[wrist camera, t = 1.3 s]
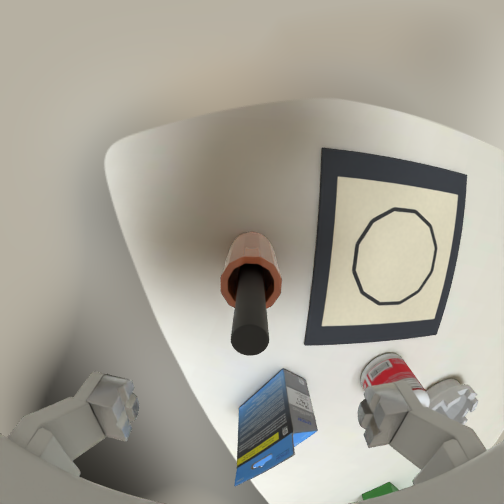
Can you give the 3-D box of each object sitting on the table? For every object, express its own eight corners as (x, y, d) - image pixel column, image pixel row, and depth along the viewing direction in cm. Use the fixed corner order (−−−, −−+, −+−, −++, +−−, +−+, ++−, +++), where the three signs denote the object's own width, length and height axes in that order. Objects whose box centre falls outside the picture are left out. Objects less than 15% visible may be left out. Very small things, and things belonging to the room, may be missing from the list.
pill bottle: (388, 388, 31) (419, 446, 20) (351, 387, 30) (378, 452, 20) (410, 352, 29) (451, 408, 19) (373, 349, 29) (411, 413, 18)
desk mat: (321, 148, 23) (323, 147, 23) (464, 174, 23) (467, 175, 23) (304, 343, 28) (304, 346, 28) (434, 333, 29) (437, 335, 28)
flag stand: (420, 379, 31) (511, 534, 2) (474, 368, 31) (561, 481, 2) (388, 434, 34) (440, 570, 5) (442, 421, 34) (501, 529, 6)
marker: (242, 245, 25) (230, 324, 12) (261, 245, 25) (270, 325, 12) (241, 262, 26) (230, 355, 12) (260, 263, 26) (267, 356, 12)
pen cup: (230, 231, 25) (220, 255, 18) (274, 232, 25) (283, 257, 18) (229, 272, 26) (220, 311, 19) (272, 273, 26) (279, 313, 19)
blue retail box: (261, 418, 32) (264, 495, 20) (237, 407, 31) (232, 487, 19) (307, 379, 30) (326, 462, 18) (282, 366, 29) (294, 454, 17)
